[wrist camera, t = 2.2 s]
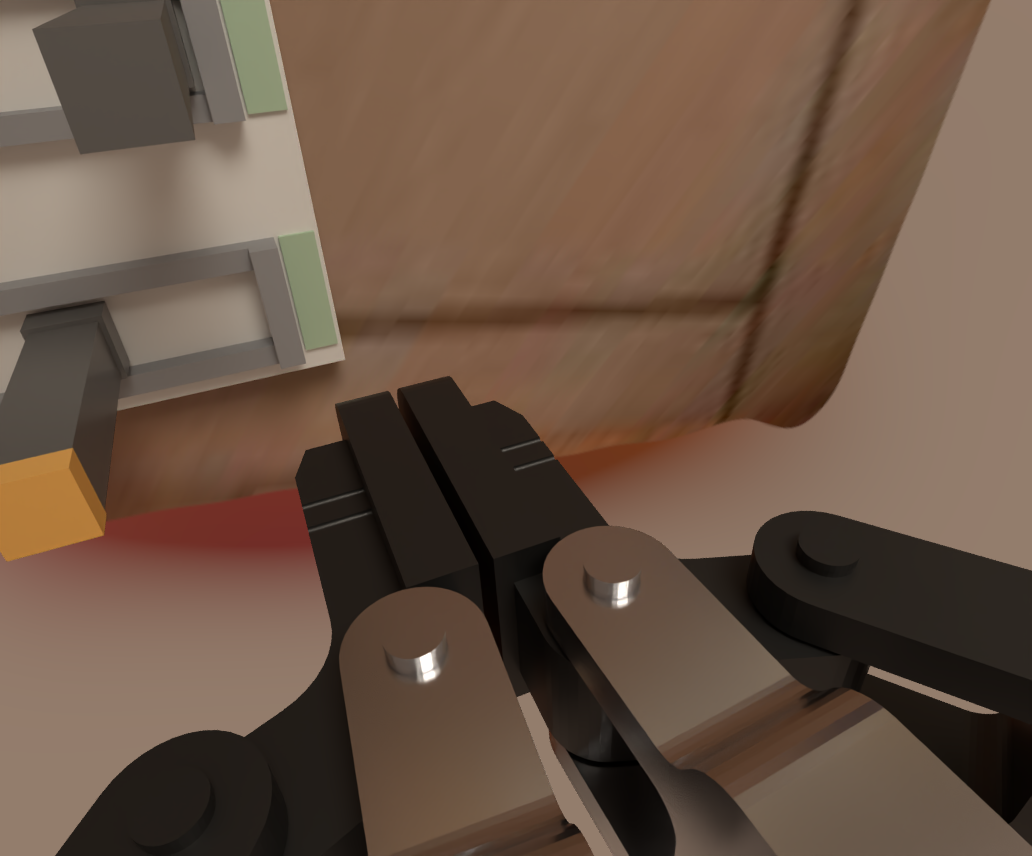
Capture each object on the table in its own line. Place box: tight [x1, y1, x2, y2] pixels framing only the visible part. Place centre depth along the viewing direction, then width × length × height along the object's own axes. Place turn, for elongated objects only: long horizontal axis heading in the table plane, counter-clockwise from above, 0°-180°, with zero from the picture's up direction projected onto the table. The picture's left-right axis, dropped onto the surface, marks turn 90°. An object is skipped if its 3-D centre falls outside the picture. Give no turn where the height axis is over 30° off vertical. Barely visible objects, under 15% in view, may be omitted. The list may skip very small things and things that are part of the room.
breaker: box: [0, 301, 130, 561], centre depth 26 cm, size 3×3×13 cm
